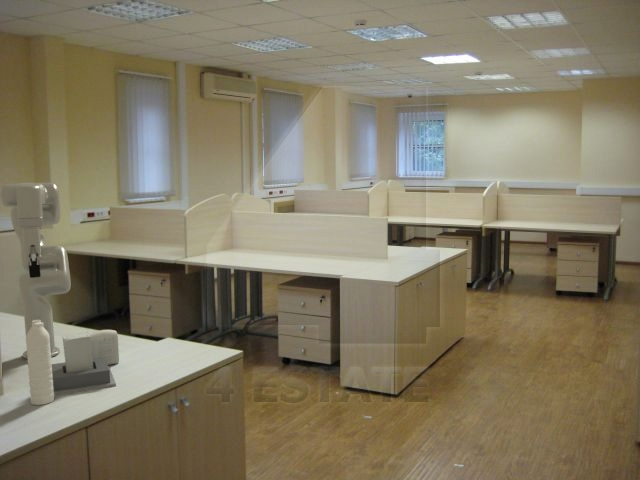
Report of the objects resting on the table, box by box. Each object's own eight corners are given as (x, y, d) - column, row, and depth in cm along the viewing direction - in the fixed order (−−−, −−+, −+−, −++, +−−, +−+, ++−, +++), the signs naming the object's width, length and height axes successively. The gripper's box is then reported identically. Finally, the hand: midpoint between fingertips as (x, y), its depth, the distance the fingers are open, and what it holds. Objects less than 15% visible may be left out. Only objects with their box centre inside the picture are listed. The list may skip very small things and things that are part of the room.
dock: (46, 378, 216) (45, 363, 215) (109, 369, 224) (108, 355, 223) (48, 396, 200) (46, 380, 199) (115, 385, 208) (115, 370, 207)
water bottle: (29, 400, 197) (22, 319, 193) (52, 395, 200) (45, 316, 197) (34, 409, 189) (27, 326, 186) (57, 404, 193) (51, 322, 190)
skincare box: (92, 374, 216) (89, 331, 214) (94, 380, 211) (91, 335, 209) (65, 378, 213) (62, 334, 211) (67, 384, 207) (63, 339, 205)
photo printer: (117, 360, 234) (115, 326, 232) (121, 363, 230) (118, 329, 228) (87, 365, 228) (85, 331, 226) (91, 369, 224) (88, 334, 223)
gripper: (18, 221, 218) (22, 271, 221) (17, 226, 203) (22, 280, 205) (42, 220, 221) (46, 269, 224) (44, 224, 206) (48, 278, 208)
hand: (35, 274), depth 214 cm, fingers open, 9 cm apart
